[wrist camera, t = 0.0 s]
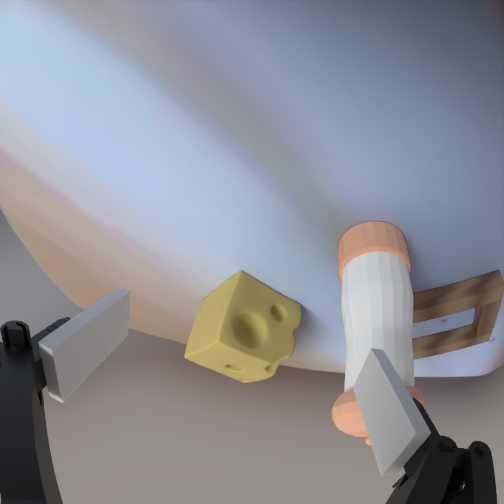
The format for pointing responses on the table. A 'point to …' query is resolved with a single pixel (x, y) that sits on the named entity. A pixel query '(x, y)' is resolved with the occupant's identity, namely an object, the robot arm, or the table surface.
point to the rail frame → (456, 300)
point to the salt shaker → (374, 311)
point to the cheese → (244, 329)
